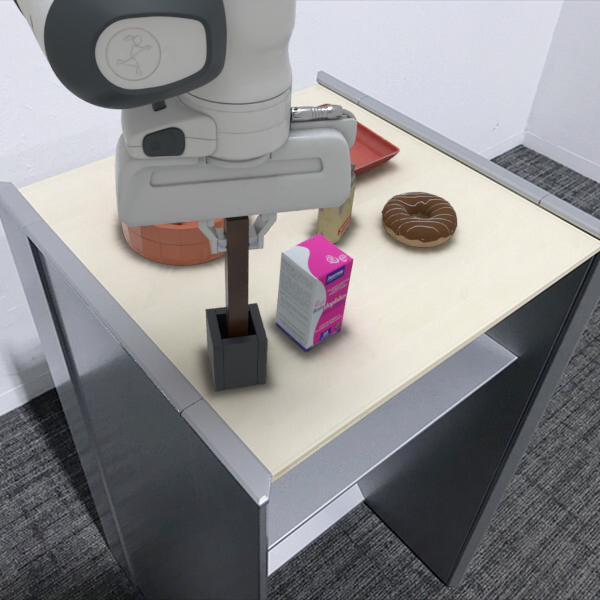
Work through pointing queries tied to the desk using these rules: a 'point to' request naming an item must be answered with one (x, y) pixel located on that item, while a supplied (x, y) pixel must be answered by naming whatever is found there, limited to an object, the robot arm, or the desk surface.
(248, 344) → the holder
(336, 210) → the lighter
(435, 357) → the desk surface
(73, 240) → the desk surface
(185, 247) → the bowl
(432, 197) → the donut
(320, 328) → the supplement box
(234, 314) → the stick
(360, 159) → the red square tray
